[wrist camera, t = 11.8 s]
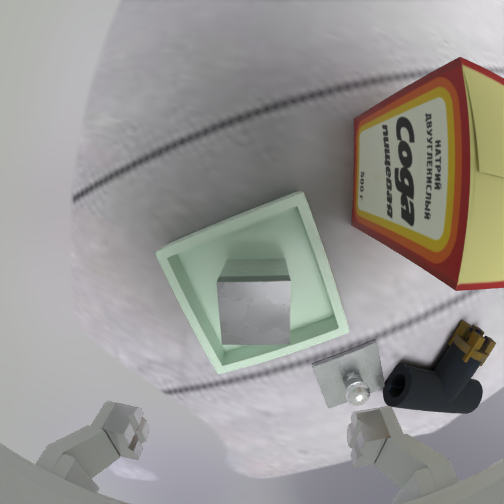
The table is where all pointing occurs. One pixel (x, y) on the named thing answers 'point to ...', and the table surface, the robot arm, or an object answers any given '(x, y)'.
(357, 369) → the stud
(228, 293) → the brushed steel cube
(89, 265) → the table surface
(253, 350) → the tray
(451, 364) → the pipe connector
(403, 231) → the baking soda box
